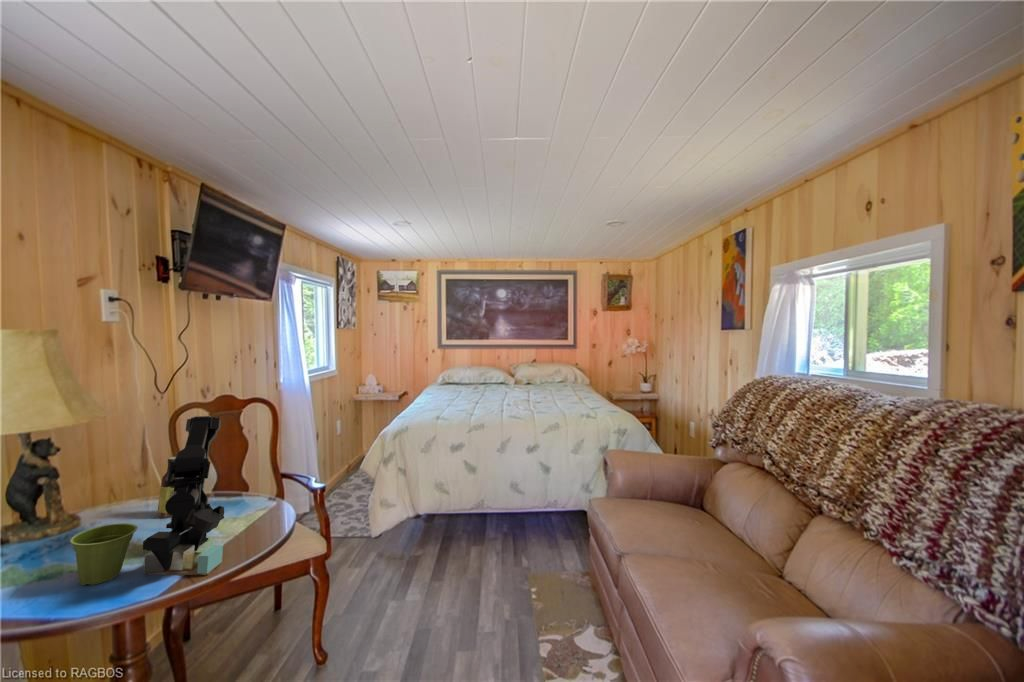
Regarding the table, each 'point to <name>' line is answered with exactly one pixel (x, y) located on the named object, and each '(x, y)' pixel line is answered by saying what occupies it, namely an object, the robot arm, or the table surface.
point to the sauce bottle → (165, 492)
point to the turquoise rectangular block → (210, 559)
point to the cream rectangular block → (184, 558)
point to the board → (179, 572)
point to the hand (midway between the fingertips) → (181, 559)
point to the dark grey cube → (153, 564)
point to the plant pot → (101, 551)
